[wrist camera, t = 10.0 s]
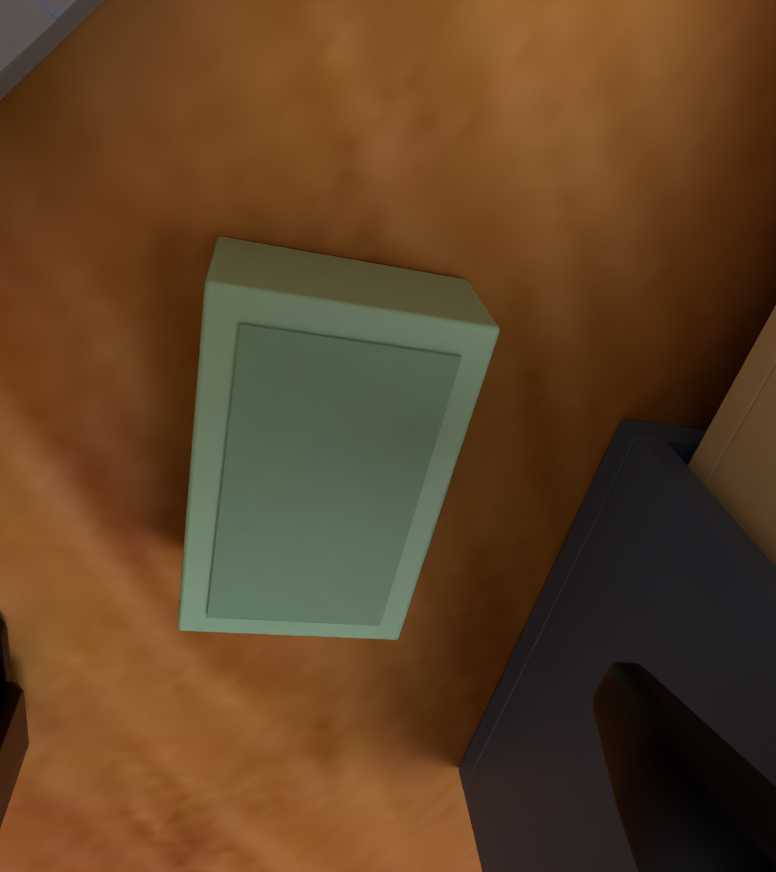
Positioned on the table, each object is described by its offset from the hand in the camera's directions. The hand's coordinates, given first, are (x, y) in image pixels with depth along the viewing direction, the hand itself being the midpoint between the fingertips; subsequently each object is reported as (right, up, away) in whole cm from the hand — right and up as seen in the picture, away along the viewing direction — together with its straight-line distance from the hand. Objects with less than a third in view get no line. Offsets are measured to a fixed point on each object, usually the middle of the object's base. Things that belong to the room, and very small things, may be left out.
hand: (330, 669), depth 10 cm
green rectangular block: (-1, +4, +5) cm, 7 cm away
